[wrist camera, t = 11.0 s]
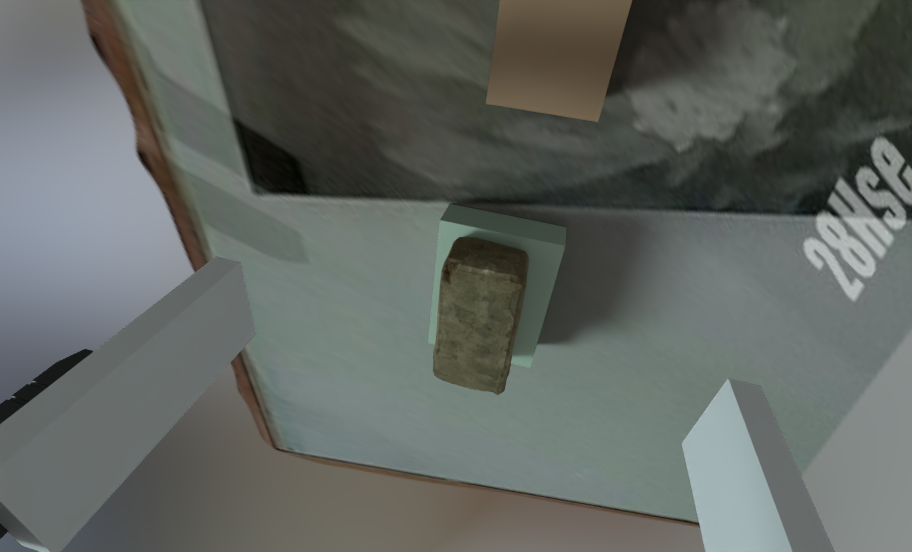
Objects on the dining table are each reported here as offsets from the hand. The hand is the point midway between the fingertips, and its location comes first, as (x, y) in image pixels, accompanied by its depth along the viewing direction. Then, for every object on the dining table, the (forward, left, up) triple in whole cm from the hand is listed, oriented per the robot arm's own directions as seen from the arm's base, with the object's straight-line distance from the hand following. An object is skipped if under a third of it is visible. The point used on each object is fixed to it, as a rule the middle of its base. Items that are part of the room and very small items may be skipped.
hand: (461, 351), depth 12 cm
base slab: (+12, 0, -22) cm, 25 cm away
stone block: (+12, -1, -19) cm, 22 cm away
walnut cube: (-6, +1, -22) cm, 23 cm away
